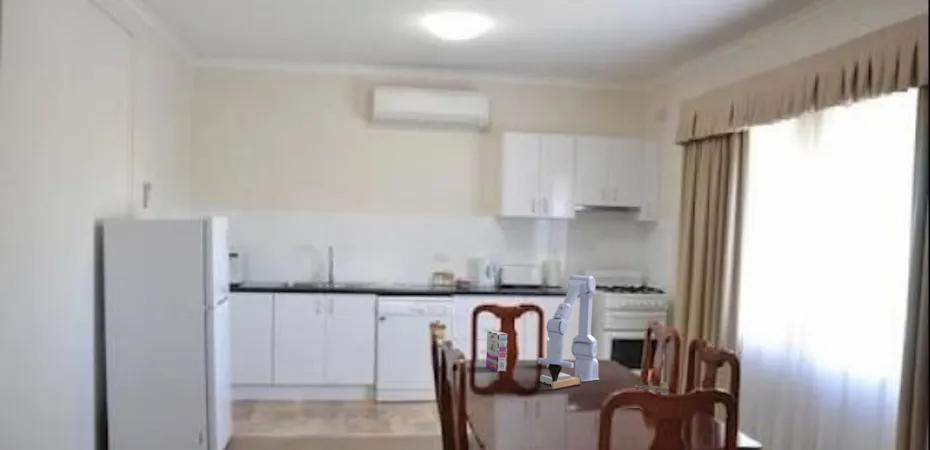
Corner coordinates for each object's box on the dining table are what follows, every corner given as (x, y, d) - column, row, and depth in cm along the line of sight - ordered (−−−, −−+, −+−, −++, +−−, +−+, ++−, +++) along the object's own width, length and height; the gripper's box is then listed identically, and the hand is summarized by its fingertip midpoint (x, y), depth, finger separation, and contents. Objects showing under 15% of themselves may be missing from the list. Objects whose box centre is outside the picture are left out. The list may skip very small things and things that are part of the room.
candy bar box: (507, 371, 323) (508, 333, 323) (497, 372, 321) (498, 334, 321) (495, 366, 333) (496, 329, 333) (485, 367, 331) (486, 330, 331)
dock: (559, 378, 312) (559, 373, 312) (576, 384, 302) (576, 378, 302) (540, 381, 306) (540, 375, 306) (557, 386, 297) (557, 380, 297)
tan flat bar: (579, 383, 302) (579, 374, 302) (581, 384, 301) (582, 375, 301) (551, 389, 291) (551, 379, 291) (554, 390, 290) (554, 380, 290)
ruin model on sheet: (666, 407, 271) (667, 381, 271) (667, 410, 268) (668, 382, 268) (634, 405, 273) (635, 379, 273) (635, 407, 270) (636, 380, 270)
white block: (561, 382, 307) (562, 372, 307) (570, 385, 301) (570, 375, 301) (551, 383, 305) (551, 373, 305) (559, 386, 299) (559, 376, 299)
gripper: (534, 348, 293) (533, 382, 293) (568, 353, 286) (567, 388, 286) (542, 346, 299) (541, 379, 299) (576, 350, 292) (575, 385, 292)
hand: (554, 383), depth 293 cm, fingers closed, pressing on tan flat bar
